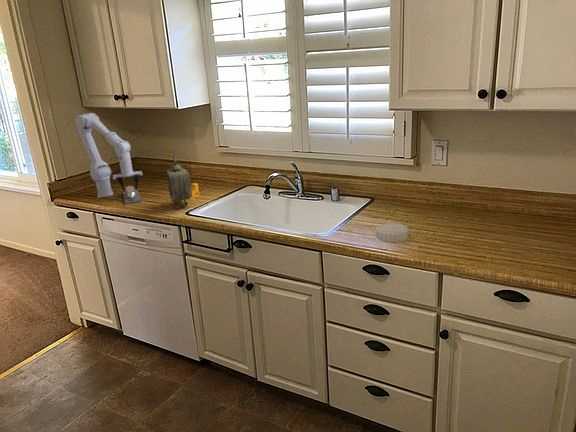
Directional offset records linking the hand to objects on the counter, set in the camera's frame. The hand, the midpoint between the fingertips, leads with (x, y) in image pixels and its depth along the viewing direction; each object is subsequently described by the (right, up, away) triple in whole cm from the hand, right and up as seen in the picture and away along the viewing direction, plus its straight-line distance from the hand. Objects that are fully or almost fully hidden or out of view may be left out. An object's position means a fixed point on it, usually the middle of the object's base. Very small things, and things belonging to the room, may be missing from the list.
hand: (130, 190), depth 249 cm
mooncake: (+122, -21, -72) cm, 143 cm away
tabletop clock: (+32, -9, -18) cm, 38 cm away
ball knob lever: (0, -3, +1) cm, 3 cm away
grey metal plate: (0, -4, +1) cm, 4 cm away
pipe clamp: (+32, -5, -7) cm, 33 cm away
